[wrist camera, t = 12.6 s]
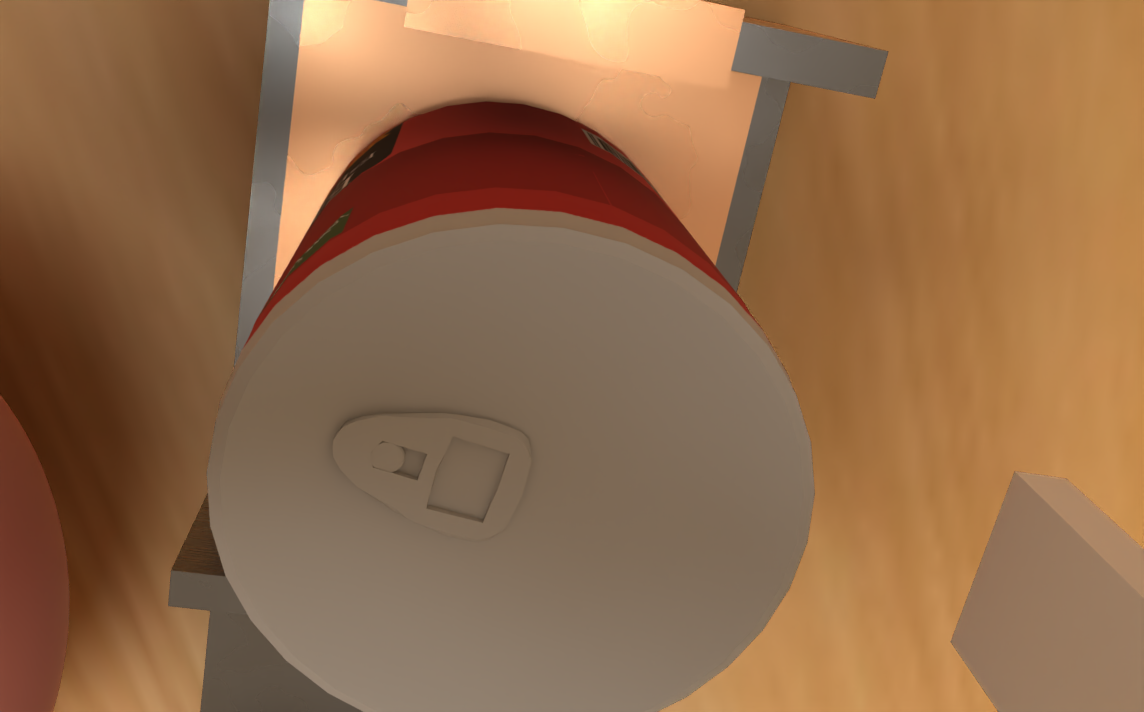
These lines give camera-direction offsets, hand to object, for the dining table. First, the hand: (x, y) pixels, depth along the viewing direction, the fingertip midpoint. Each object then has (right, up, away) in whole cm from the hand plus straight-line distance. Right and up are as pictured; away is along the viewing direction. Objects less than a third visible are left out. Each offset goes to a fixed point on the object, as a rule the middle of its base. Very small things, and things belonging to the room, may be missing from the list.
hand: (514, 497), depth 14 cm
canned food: (-1, +4, +11) cm, 11 cm away
